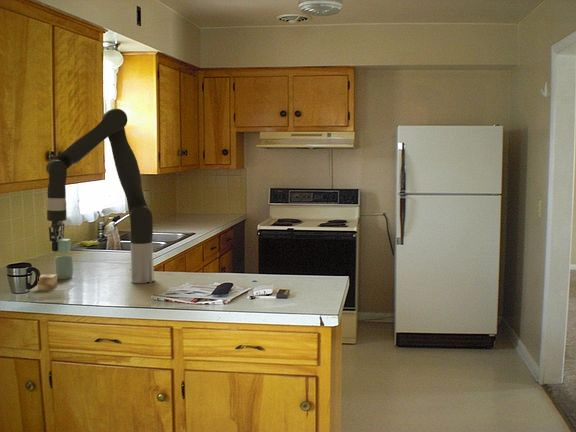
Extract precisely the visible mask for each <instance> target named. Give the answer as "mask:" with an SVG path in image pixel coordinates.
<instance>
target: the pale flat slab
mask: <svg viewBox="0 0 576 432" xmlns="http://www.w3.org/2000/svg"><path fill="white" fill-rule="evenodd" d="M74 287H76V284H60V285H59V284H57V287H56V288H54V289H45V290H38V284H37V285H35V286H34V287H32V288H31V289H29V292H32V291H33V292H34V291H35V292H40V291H41V292H43V291H45V292H47V291H53V292H54V291H58V292H59V291H70V290H72V289H73V288H74Z"/></svg>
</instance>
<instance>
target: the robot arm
mask: <svg viewBox="0 0 576 432" xmlns="http://www.w3.org/2000/svg"><path fill="white" fill-rule="evenodd" d="M127 123H128V116H127V113H126V112H125V111H124V110H123V109H121V108H111V109H108V110H107V111H105V112H104V113H103V115H102V117H101V120H100V122H99V123H97V125H95V126H94V127H93V128H92V129H91V130H89V131H88V132H86V133H85V134H83V135H82V136H80V137H79V138H78V139H76V140H75V141H74V142H73V143H71V144H70V145H69V146H68V147H66V149H64V150H63V151H62V152H60V153H59V154H58V155H56V156H55V157H54V158H52V159H50V161H48V162H47V163H46V167H45V170H46V172H47V174H48V185H47V192H46V193H47V200H46V220H47V221H48V222H51V224H50V226H48V234H49V236H48V237H49V241H50V242H51V251H52V252H55V251H58V239H65V226H66V225H65V223H63V222H65V221H67V199H66V198H67V196H66V195H67V194H66V193H67V192H66V189H67V188H66V183H67V175H68V169H69V168H70V167H72V166H73V165H74V164H75V165H76V164H77V163H79V162H80V161H81V160H83V159H84V158H85V157H86V156H87V155H88V154H89V153H91V151H93V150H94V149H95V148H96V147H97V146H98V145H100V144H101V143H102V142H104V140H106V139H107V138H108V141H109V143H110V147H111V152H112V156H113V157H112V158H113V161H114V165H115V166H114V167H115V169H116V172H117V176H118V177H117V178H118V179H119V182H120V185H121V189H122V190H123V192H124V194H125V198H126V202H127V209H128V215H129V221H130V265H131V266H130V267H131V268H130V269H131V270H130V271H131V282H132V283H134V284H148V283H147V282H149V283H153V282H154V280H155V263H154V262H155V261H154V257H153V255H154V254H153V250H154V249H153V236H154V235H153V234H154V233H153V231H154V228H153V227H154V224H153V220H154V219H153V213H152V211H151V210H150V208H149V207H148V204H147V202H146V201H147V200H146V199H145V195H144V193H143V187H142V177H141V173H140V167H139V164H138V163H139V162H138V161H137V158H136V155H135V154H134V150H133V149H132V147H131V145H130V144H129V141H128V139H127V138H128V137H127V135H126V130H125V127H126V126H127ZM152 281H153V282H152Z"/></svg>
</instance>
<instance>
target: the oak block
mask: <svg viewBox="0 0 576 432" xmlns="http://www.w3.org/2000/svg"><path fill="white" fill-rule="evenodd" d="M39 276H40V277H39ZM39 276H38V277H39V281H38V280H37V285H38V290H45V289H54V288H56V287H57V285H58V279H57V274H54V273H53V274H51V273H48V274H45V273H44V274H41V275H39Z"/></svg>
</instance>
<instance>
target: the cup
mask: <svg viewBox="0 0 576 432" xmlns="http://www.w3.org/2000/svg"><path fill="white" fill-rule="evenodd" d="M54 273H55V274H57V280H68V279H72V278H73V275H74V258H73V256H71V255H61V256H55V257H54Z"/></svg>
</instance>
